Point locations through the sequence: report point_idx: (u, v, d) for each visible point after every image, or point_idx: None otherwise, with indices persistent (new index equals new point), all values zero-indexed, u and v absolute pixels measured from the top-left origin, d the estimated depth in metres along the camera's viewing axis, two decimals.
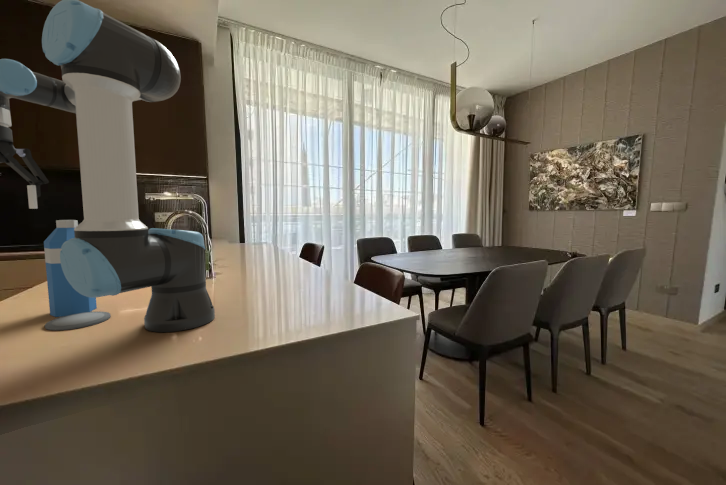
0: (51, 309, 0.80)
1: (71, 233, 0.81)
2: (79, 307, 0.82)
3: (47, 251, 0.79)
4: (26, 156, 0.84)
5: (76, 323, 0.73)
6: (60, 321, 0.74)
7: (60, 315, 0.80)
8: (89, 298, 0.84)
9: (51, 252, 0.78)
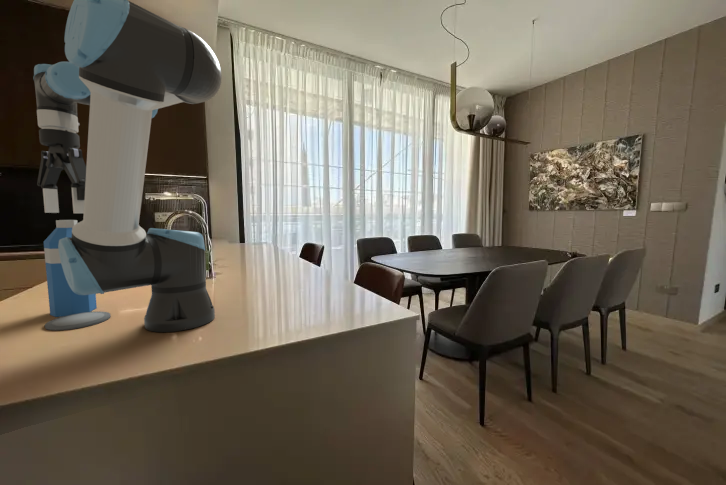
0: (51, 309, 0.80)
1: (71, 233, 0.81)
2: (79, 307, 0.82)
3: (47, 251, 0.79)
4: None
5: (76, 323, 0.73)
6: (60, 321, 0.74)
7: (60, 315, 0.80)
8: (89, 298, 0.84)
9: (51, 252, 0.78)
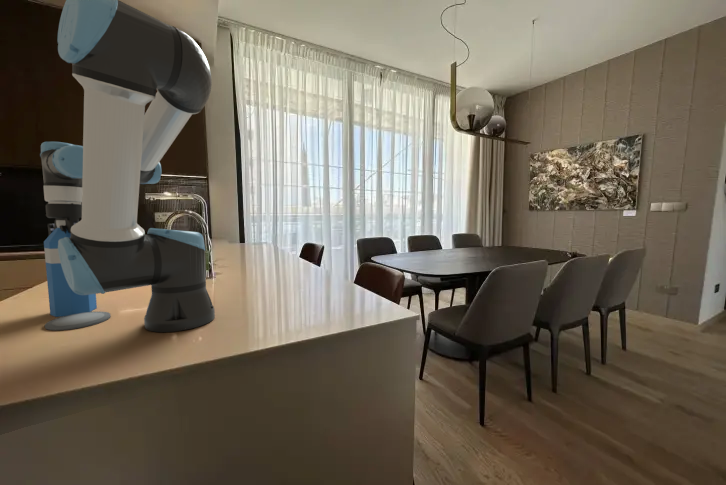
0: (51, 308, 0.81)
1: None
2: (79, 307, 0.82)
3: (47, 251, 0.79)
4: None
5: (76, 323, 0.73)
6: (60, 321, 0.74)
7: (60, 315, 0.80)
8: (89, 298, 0.84)
9: (51, 252, 0.78)
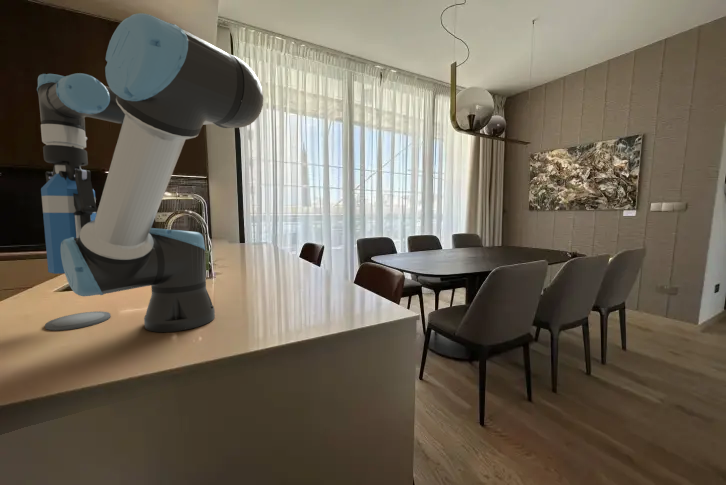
0: (49, 265, 0.71)
1: None
2: None
3: (45, 199, 0.70)
4: None
5: (76, 323, 0.73)
6: (60, 321, 0.74)
7: (59, 272, 0.71)
8: None
9: (49, 200, 0.69)
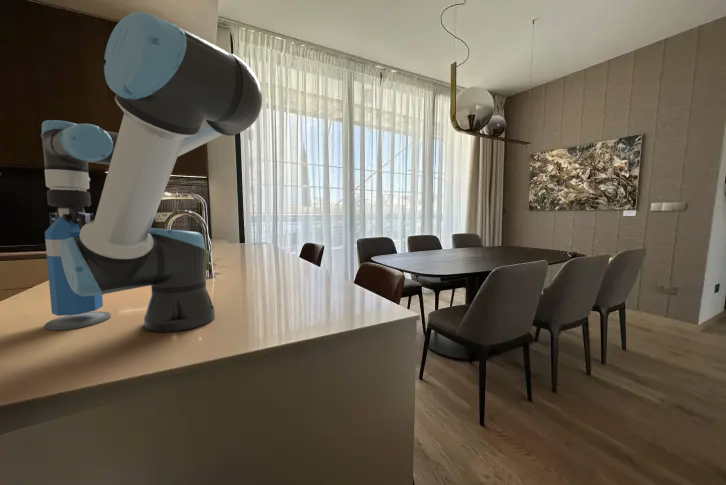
0: (53, 307, 0.72)
1: (75, 223, 0.72)
2: (84, 305, 0.74)
3: (48, 242, 0.71)
4: None
5: (76, 323, 0.73)
6: (60, 321, 0.74)
7: (63, 314, 0.72)
8: (95, 295, 0.76)
9: (53, 244, 0.70)
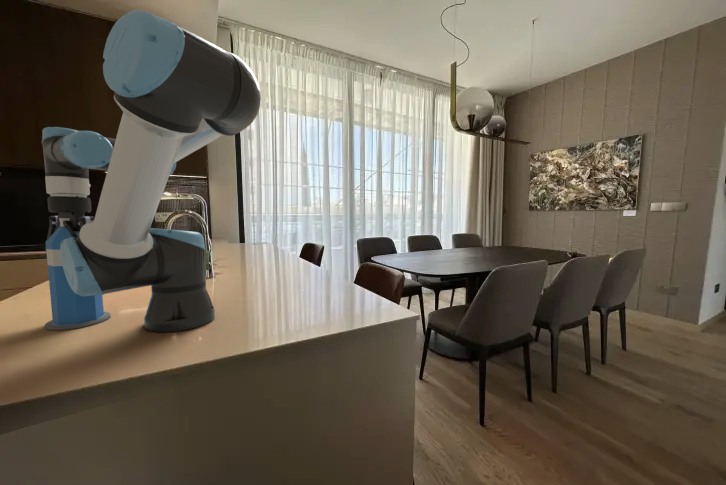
0: (54, 316, 0.73)
1: None
2: (85, 314, 0.74)
3: (49, 252, 0.71)
4: None
5: None
6: None
7: (64, 323, 0.72)
8: (96, 304, 0.76)
9: (54, 253, 0.70)
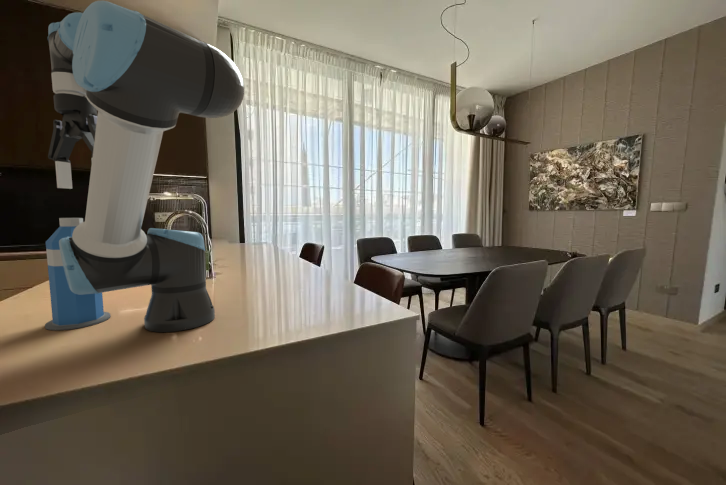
0: (54, 316, 0.73)
1: None
2: (85, 314, 0.74)
3: (49, 252, 0.71)
4: None
5: None
6: None
7: (64, 323, 0.72)
8: (96, 304, 0.76)
9: (54, 254, 0.70)
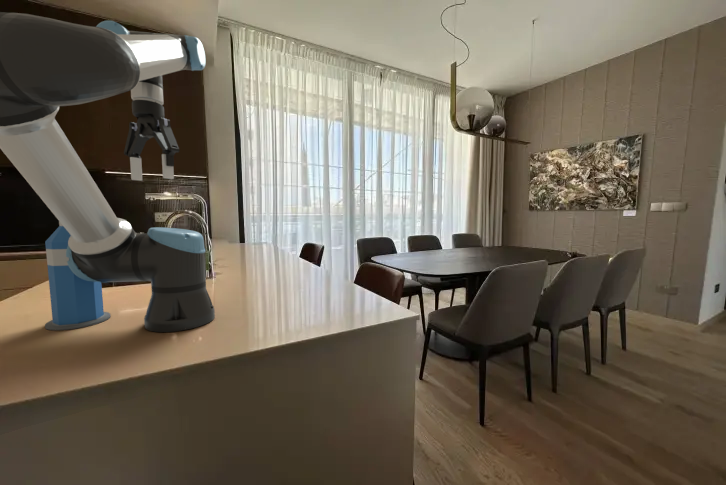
0: (54, 316, 0.73)
1: None
2: (85, 314, 0.74)
3: (49, 252, 0.71)
4: None
5: None
6: None
7: (64, 323, 0.72)
8: (96, 304, 0.76)
9: (54, 253, 0.70)
